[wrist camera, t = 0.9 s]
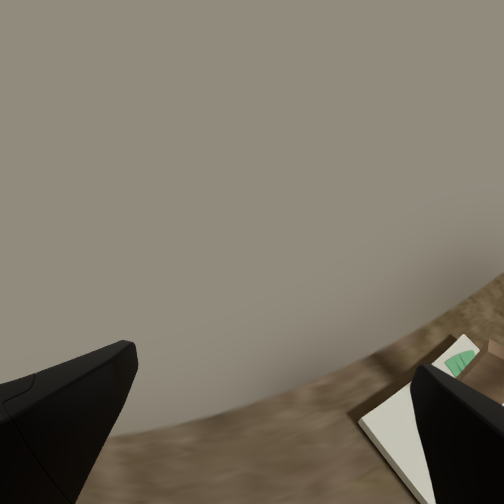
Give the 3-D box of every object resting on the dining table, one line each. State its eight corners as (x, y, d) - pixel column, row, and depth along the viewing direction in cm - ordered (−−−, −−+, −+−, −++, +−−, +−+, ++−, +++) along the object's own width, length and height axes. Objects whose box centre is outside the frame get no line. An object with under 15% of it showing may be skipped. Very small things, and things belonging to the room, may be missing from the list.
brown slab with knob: (510, 424, 16) (565, 377, 11) (506, 442, 14) (565, 397, 9) (422, 382, 21) (468, 324, 16) (415, 400, 20) (465, 344, 15)
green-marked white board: (515, 401, 19) (521, 395, 18) (426, 511, 13) (433, 509, 12) (459, 339, 26) (464, 333, 25) (357, 422, 20) (361, 417, 20)
